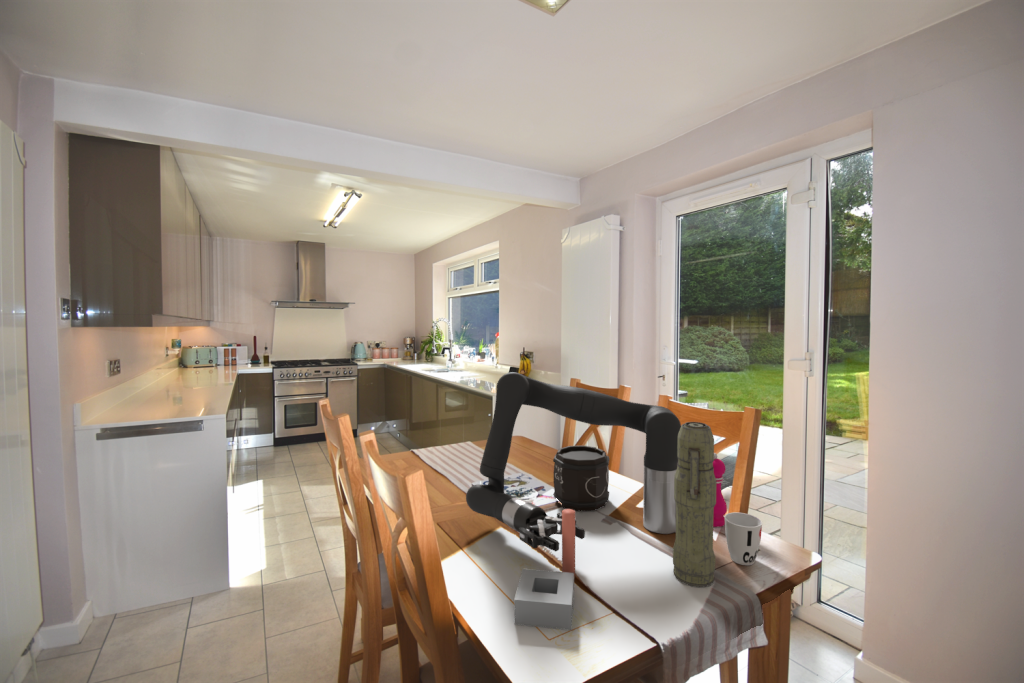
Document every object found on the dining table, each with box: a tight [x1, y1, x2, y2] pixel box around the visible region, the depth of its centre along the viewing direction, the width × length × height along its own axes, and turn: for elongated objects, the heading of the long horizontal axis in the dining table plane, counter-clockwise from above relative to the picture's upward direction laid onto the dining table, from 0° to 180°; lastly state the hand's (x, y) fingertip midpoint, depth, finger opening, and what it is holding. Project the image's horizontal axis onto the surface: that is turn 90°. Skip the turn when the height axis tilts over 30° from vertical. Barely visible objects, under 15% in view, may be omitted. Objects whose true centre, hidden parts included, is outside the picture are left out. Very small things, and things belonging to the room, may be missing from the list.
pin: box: [561, 508, 576, 578], centre depth 108 cm, size 3×3×15 cm
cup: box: [724, 511, 763, 566], centre depth 114 cm, size 8×8×10 cm
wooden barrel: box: [552, 445, 610, 512], centre depth 150 cm, size 18×18×16 cm
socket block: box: [513, 568, 575, 631], centre depth 96 cm, size 11×11×5 cm
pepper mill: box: [713, 452, 728, 528], centre depth 133 cm, size 7×7×20 cm
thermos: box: [672, 421, 716, 588], centre depth 106 cm, size 9×12×35 cm
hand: (571, 540), depth 107 cm, fingers open, 8 cm apart
